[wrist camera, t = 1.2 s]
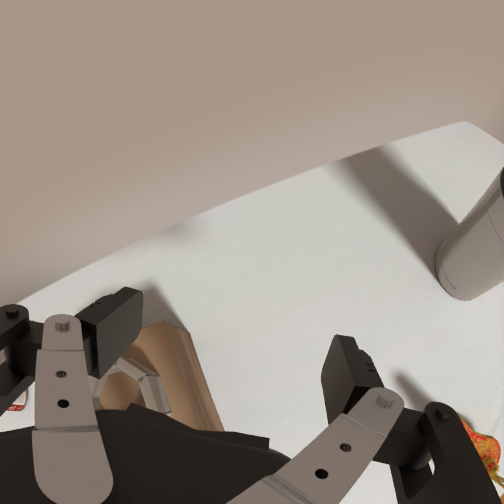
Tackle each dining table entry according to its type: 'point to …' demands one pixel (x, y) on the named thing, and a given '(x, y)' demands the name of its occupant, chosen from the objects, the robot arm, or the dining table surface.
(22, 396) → the soda can
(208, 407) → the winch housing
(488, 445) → the magic lamp
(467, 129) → the dining table surface
